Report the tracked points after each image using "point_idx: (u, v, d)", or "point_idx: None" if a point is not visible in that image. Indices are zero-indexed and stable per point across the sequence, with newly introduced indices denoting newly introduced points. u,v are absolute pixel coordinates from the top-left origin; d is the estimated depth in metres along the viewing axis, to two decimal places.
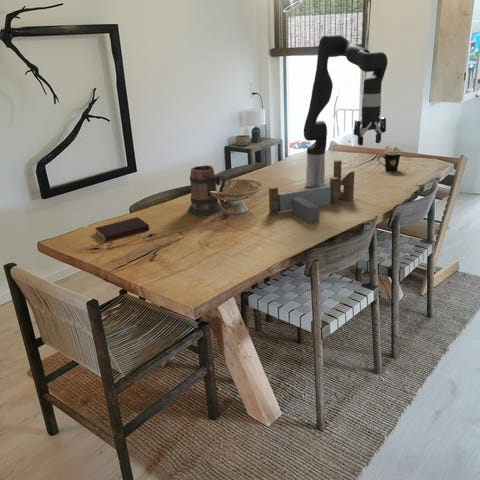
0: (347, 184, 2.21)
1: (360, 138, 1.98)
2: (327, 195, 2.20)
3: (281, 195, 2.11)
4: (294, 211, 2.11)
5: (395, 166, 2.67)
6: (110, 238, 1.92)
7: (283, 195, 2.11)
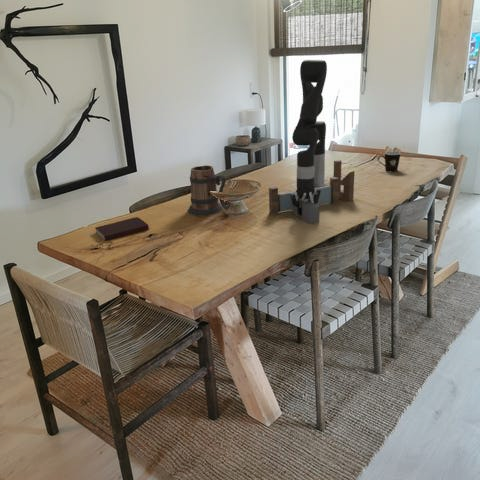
0: (347, 184, 2.21)
1: (299, 209, 2.03)
2: (327, 195, 2.20)
3: (281, 195, 2.11)
4: (294, 211, 2.11)
5: (395, 166, 2.67)
6: (109, 238, 1.93)
7: (283, 195, 2.11)
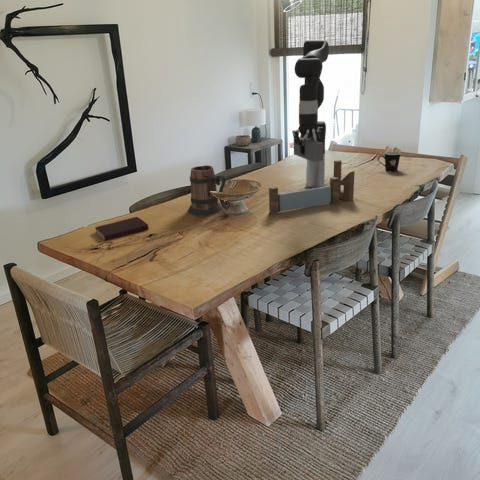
0: (347, 184, 2.21)
1: (302, 147, 1.94)
2: (327, 195, 2.20)
3: (281, 195, 2.11)
4: (296, 151, 2.01)
5: (395, 166, 2.67)
6: (109, 237, 1.93)
7: (283, 195, 2.11)
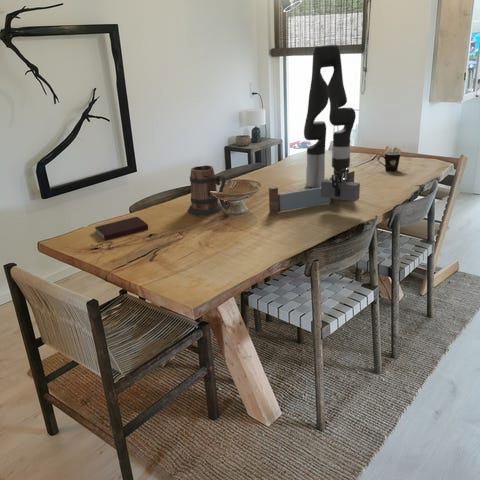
0: None
1: (338, 190, 2.04)
2: None
3: (281, 195, 2.11)
4: (325, 194, 2.10)
5: (395, 166, 2.67)
6: (109, 237, 1.93)
7: (283, 195, 2.11)
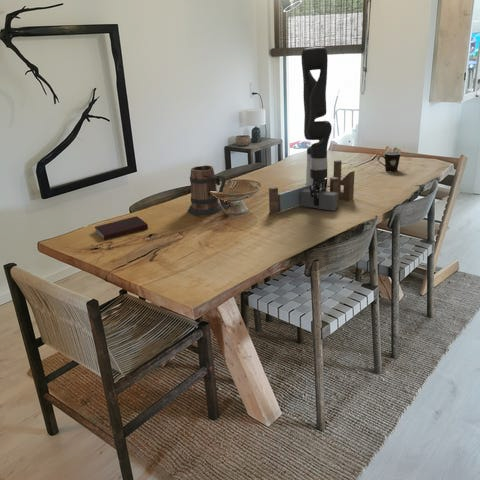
0: (347, 184, 2.21)
1: (316, 199, 2.13)
2: None
3: (281, 195, 2.11)
4: (304, 203, 2.18)
5: (395, 166, 2.67)
6: (109, 237, 1.94)
7: (282, 195, 2.12)
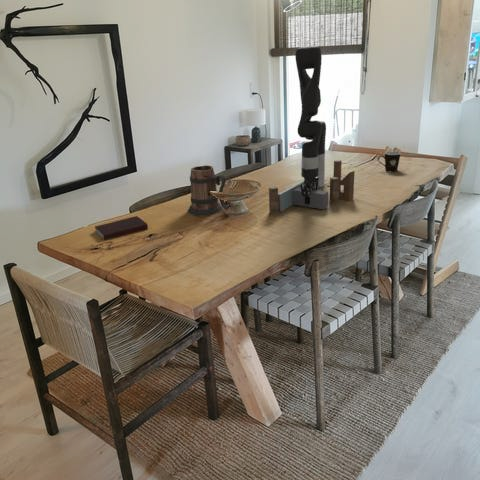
0: (347, 184, 2.21)
1: (307, 198, 2.15)
2: None
3: (281, 195, 2.12)
4: (296, 202, 2.20)
5: (395, 166, 2.67)
6: (109, 237, 1.94)
7: (282, 194, 2.12)
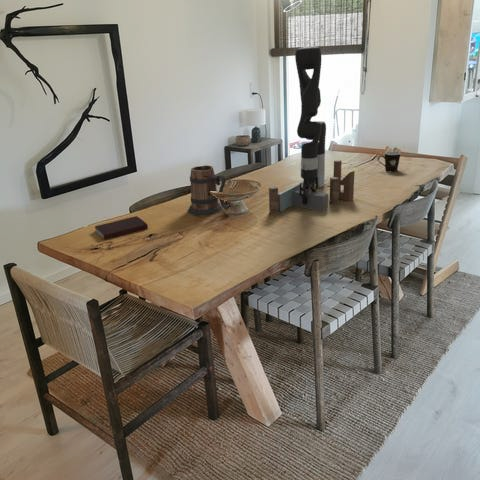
0: (347, 184, 2.21)
1: (305, 198, 2.13)
2: None
3: (281, 195, 2.12)
4: (296, 203, 2.20)
5: (395, 166, 2.67)
6: (108, 236, 1.94)
7: (282, 194, 2.12)
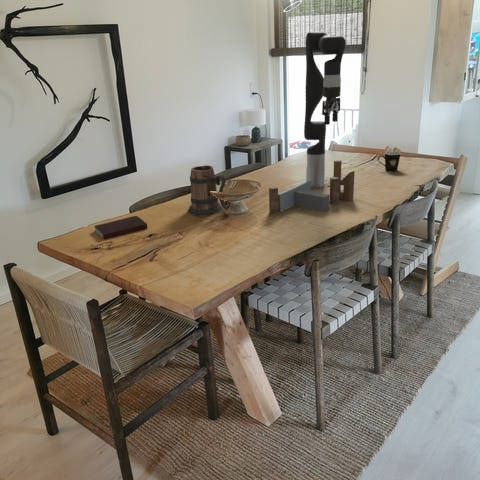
0: (347, 184, 2.21)
1: (327, 117, 2.09)
2: (309, 189, 2.29)
3: (281, 195, 2.12)
4: (297, 204, 2.20)
5: (395, 166, 2.67)
6: (108, 236, 1.94)
7: (282, 194, 2.12)
